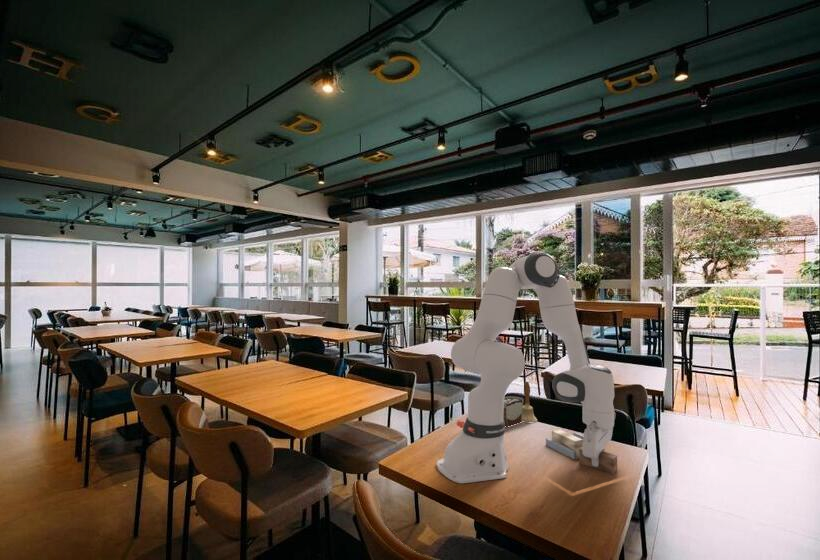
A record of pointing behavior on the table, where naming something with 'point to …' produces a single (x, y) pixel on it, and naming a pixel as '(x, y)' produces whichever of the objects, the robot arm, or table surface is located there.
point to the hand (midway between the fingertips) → (597, 462)
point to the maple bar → (567, 440)
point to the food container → (512, 410)
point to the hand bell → (527, 406)
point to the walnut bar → (600, 461)
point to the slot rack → (564, 449)
